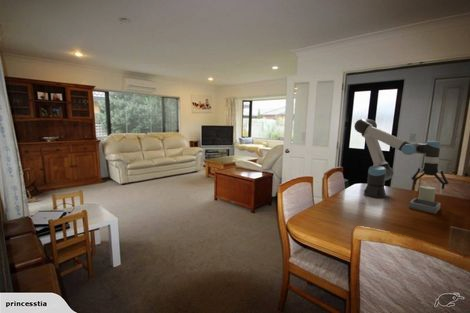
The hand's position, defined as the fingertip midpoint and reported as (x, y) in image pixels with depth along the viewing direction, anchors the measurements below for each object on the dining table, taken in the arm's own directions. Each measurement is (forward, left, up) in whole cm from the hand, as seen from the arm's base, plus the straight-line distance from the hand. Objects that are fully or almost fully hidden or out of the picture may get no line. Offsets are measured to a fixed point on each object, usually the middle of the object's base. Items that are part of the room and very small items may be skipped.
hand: (428, 191), depth 163 cm
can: (0, 0, -9) cm, 9 cm away
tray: (+2, -16, -9) cm, 18 cm away
